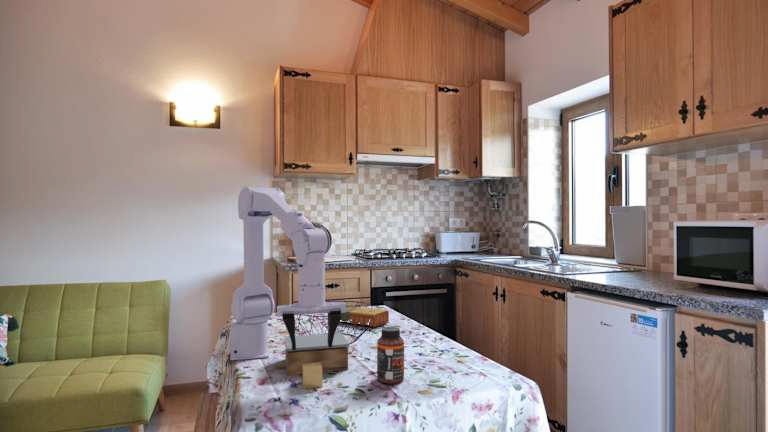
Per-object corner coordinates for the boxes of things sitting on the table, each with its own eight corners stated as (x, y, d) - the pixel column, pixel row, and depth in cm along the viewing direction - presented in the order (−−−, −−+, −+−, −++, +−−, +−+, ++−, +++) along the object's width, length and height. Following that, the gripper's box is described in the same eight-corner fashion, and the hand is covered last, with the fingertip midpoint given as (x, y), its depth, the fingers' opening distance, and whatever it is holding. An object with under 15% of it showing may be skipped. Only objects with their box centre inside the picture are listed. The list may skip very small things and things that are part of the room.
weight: (303, 389, 95) (303, 370, 95) (302, 381, 99) (302, 363, 99) (322, 387, 96) (322, 368, 96) (320, 380, 100) (320, 362, 100)
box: (287, 375, 103) (287, 353, 103) (285, 358, 115) (285, 339, 115) (348, 369, 106) (347, 348, 106) (340, 354, 118) (340, 335, 118)
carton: (374, 327, 144) (374, 314, 144) (335, 322, 153) (335, 309, 153) (389, 322, 151) (388, 309, 151) (351, 317, 160) (350, 305, 160)
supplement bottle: (395, 386, 96) (395, 333, 96) (372, 381, 99) (371, 329, 99) (409, 378, 101) (408, 327, 101) (386, 373, 104) (386, 324, 104)
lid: (286, 351, 103) (286, 348, 103) (284, 338, 115) (284, 336, 115) (348, 346, 106) (348, 344, 106) (340, 334, 118) (340, 332, 118)
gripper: (277, 288, 92) (277, 355, 92) (347, 285, 95) (348, 350, 95) (276, 283, 99) (277, 346, 99) (342, 281, 102) (343, 341, 102)
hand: (312, 347), depth 97 cm, fingers open, 7 cm apart
